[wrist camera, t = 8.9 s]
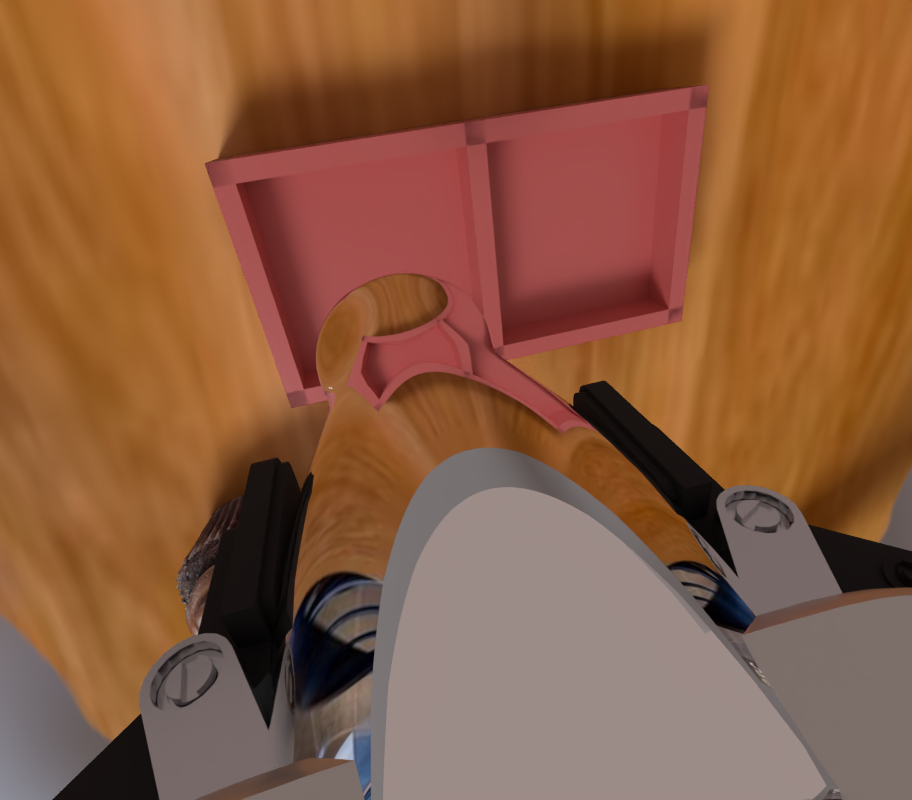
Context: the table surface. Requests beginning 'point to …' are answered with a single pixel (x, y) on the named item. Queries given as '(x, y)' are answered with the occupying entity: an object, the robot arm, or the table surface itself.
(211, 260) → the table surface
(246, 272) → the tray
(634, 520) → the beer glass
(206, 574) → the cupcake
